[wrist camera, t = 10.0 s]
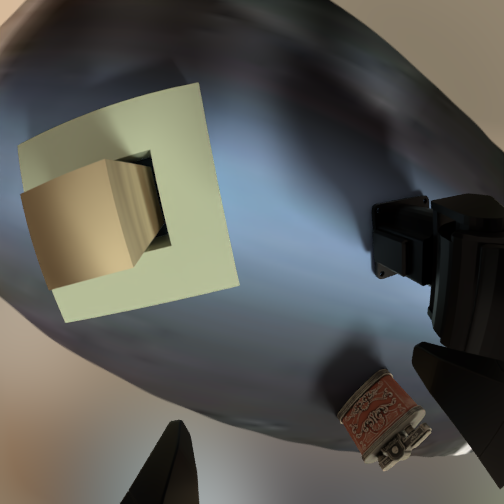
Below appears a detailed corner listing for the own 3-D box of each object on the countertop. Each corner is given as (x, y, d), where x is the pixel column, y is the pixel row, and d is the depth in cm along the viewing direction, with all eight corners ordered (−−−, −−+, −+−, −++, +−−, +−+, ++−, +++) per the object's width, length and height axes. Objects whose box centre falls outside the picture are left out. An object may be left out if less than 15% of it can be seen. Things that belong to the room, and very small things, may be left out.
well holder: (198, 100, 17) (198, 82, 13) (231, 265, 21) (239, 285, 17) (45, 148, 16) (17, 145, 12) (84, 298, 19) (65, 322, 15)
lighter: (348, 421, 29) (385, 479, 19) (331, 416, 28) (368, 481, 18) (394, 373, 28) (443, 426, 18) (379, 365, 27) (432, 424, 17)
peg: (151, 167, 18) (104, 158, 8) (164, 222, 19) (133, 267, 10) (98, 183, 17) (20, 194, 8) (112, 237, 19) (49, 290, 9)
